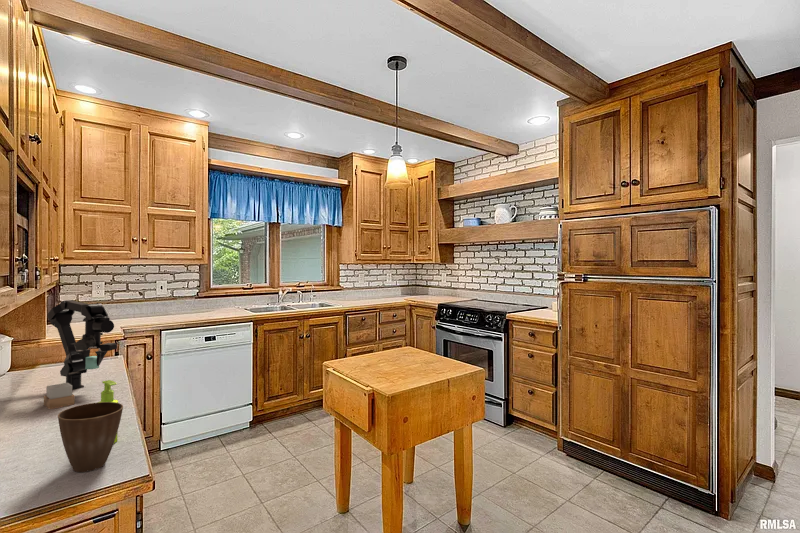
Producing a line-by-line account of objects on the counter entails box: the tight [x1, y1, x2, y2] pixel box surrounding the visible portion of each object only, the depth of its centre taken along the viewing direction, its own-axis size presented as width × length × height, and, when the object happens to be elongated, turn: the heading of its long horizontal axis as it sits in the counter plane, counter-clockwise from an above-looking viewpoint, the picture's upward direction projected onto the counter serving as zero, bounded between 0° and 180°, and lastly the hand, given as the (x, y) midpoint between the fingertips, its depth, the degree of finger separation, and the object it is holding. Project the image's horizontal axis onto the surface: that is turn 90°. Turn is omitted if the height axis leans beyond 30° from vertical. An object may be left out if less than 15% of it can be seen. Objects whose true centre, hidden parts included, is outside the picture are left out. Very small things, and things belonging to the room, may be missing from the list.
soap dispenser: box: [99, 379, 119, 444], centre depth 134 cm, size 6×7×20 cm
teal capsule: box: [85, 355, 100, 370], centre depth 189 cm, size 5×5×5 cm
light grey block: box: [45, 382, 73, 399], centre depth 170 cm, size 7×7×4 cm
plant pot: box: [57, 401, 124, 473], centre depth 118 cm, size 15×15×16 cm
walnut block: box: [43, 393, 76, 410], centre depth 170 cm, size 8×8×4 cm
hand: (92, 365), depth 189 cm, fingers closed on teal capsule, 5 cm apart
